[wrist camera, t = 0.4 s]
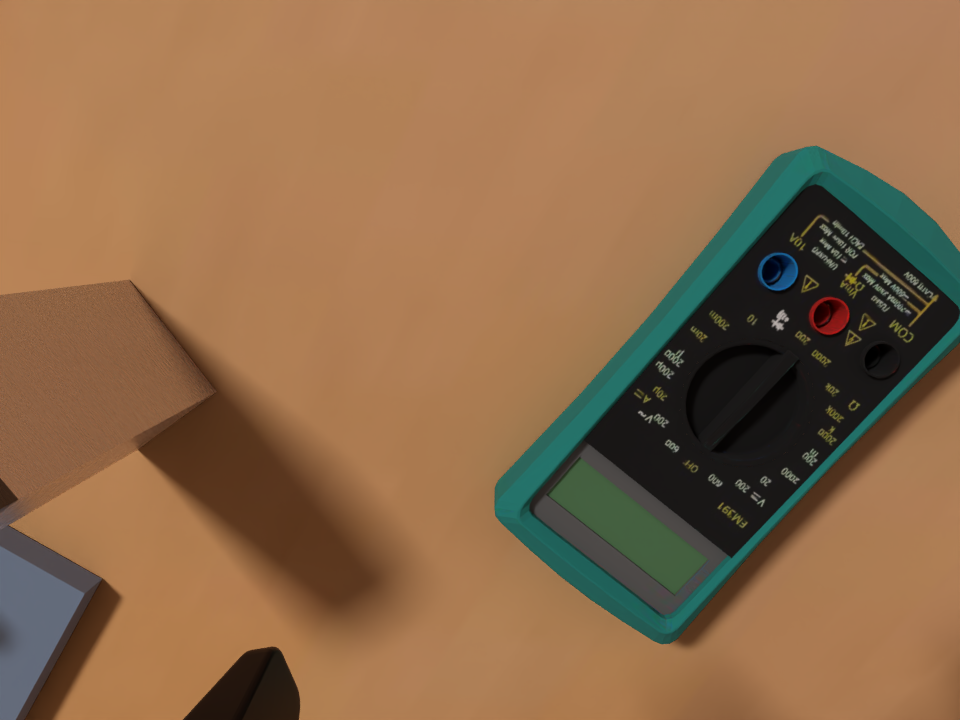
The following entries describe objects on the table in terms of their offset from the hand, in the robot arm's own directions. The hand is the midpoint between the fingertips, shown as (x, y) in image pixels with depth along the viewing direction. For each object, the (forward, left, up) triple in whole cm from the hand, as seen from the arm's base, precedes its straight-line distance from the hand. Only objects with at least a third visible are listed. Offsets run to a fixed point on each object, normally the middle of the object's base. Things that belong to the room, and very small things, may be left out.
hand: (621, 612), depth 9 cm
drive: (+1, +14, -14) cm, 19 cm away
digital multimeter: (0, -5, -14) cm, 15 cm away
